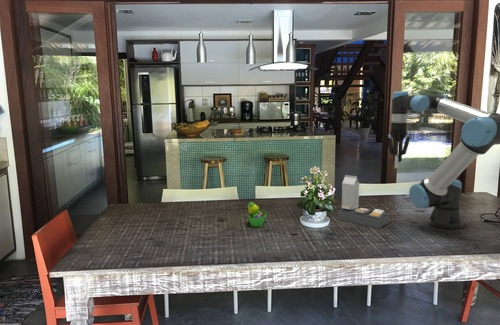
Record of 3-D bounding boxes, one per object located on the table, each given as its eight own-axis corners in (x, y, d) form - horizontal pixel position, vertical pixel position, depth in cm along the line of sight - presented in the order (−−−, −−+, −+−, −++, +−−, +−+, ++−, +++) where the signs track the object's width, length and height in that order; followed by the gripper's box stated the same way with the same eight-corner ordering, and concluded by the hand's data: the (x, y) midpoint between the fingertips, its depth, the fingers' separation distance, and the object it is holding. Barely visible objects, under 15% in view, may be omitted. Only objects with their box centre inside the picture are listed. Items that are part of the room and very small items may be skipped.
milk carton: (353, 210, 225) (354, 177, 222) (341, 208, 229) (342, 176, 226) (358, 207, 230) (359, 175, 227) (346, 205, 235) (347, 174, 231)
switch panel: (387, 223, 202) (388, 213, 201) (378, 228, 195) (379, 218, 194) (347, 214, 218) (347, 205, 217) (337, 218, 211) (337, 209, 210)
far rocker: (355, 209, 212) (355, 207, 212) (349, 209, 207) (349, 206, 207) (347, 208, 215) (348, 205, 215) (341, 207, 210) (342, 205, 210)
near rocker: (384, 212, 201) (383, 210, 200) (378, 218, 196) (378, 216, 196) (375, 210, 204) (375, 208, 203) (369, 216, 199) (369, 214, 199)
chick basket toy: (263, 227, 199) (263, 205, 197) (245, 226, 201) (245, 205, 199) (267, 220, 210) (266, 199, 208) (250, 219, 212) (250, 199, 210)
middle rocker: (369, 211, 206) (369, 209, 206) (363, 213, 202) (363, 210, 201) (361, 210, 209) (361, 207, 209) (355, 211, 205) (355, 209, 204)
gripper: (414, 122, 203) (412, 168, 206) (389, 121, 211) (388, 165, 215) (408, 123, 197) (406, 170, 201) (383, 122, 206) (381, 167, 210)
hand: (397, 167), depth 208 cm, fingers closed
